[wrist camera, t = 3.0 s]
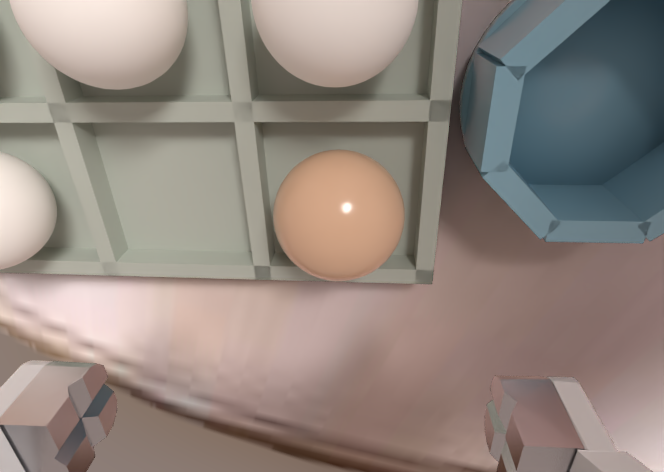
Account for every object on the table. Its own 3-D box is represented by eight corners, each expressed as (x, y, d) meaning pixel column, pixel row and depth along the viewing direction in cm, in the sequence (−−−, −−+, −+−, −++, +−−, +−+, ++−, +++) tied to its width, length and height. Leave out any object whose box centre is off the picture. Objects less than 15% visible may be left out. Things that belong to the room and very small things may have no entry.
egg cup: (759, -49, 13) (878, -60, 10) (663, 203, 17) (727, 250, 14) (476, -40, 14) (505, -48, 11) (448, 200, 18) (463, 245, 15)
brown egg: (404, 132, 16) (414, 180, 12) (397, 240, 18) (404, 310, 14) (281, 132, 17) (251, 179, 13) (289, 238, 19) (267, 306, 15)
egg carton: (467, -151, 13) (520, -230, 8) (427, 260, 20) (444, 344, 15) (-181, -117, 14) (-439, -165, 10) (-7, 250, 21) (-112, 323, 17)
